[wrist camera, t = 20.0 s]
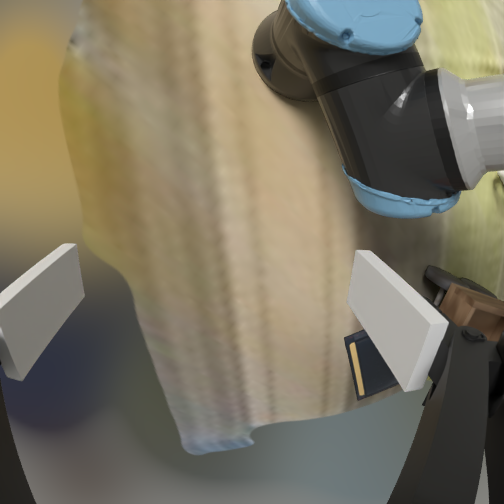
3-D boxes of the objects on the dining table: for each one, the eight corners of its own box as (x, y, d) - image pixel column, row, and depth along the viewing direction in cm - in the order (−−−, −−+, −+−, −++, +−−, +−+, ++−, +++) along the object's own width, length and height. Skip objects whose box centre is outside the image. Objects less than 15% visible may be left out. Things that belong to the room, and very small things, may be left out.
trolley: (420, 260, 51) (520, 340, 26) (478, 282, 54) (562, 348, 29) (397, 308, 54) (477, 404, 29) (458, 322, 58) (530, 397, 32)
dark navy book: (417, 380, 60) (356, 405, 61) (413, 375, 62) (354, 399, 63) (417, 310, 54) (345, 339, 54) (413, 306, 55) (342, 333, 56)
